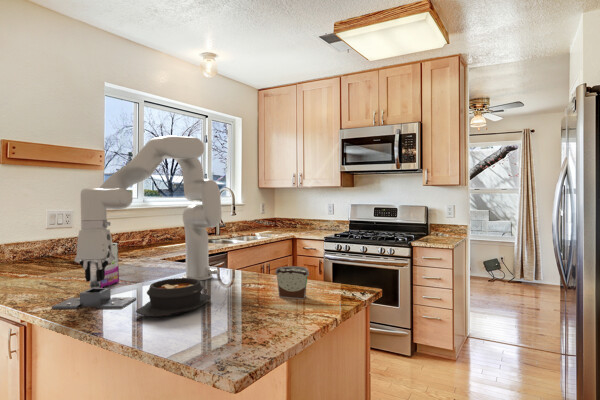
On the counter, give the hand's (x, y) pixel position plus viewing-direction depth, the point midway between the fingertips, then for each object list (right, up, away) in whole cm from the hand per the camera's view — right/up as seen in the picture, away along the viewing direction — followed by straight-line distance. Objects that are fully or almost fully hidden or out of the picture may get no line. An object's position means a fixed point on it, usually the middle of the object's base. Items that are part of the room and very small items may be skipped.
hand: (95, 280), depth 126 cm
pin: (0, -2, 0) cm, 2 cm away
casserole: (+29, -8, -6) cm, 31 cm away
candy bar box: (-10, -8, +26) cm, 29 cm away
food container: (+66, -7, +8) cm, 67 cm away
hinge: (0, -8, 0) cm, 8 cm away
